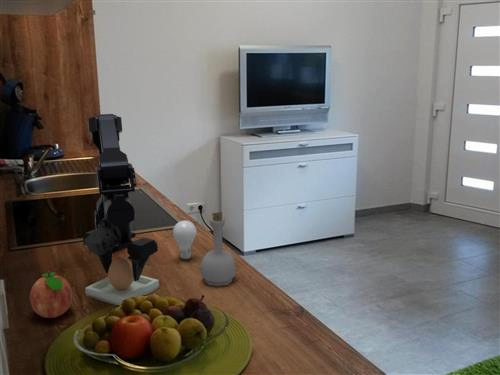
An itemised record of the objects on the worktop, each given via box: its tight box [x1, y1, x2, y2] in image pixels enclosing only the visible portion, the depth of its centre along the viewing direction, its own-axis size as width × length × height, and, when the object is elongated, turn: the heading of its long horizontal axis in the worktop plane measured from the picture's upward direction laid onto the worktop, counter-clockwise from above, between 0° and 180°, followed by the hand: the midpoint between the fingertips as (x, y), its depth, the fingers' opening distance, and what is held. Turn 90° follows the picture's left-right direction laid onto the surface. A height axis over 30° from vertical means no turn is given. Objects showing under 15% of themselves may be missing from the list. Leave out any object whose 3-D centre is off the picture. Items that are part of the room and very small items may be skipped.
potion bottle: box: [199, 211, 237, 287], centre depth 129 cm, size 9×9×18 cm
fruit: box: [29, 270, 74, 319], centre depth 113 cm, size 9×10×10 cm
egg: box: [107, 256, 134, 290], centre depth 124 cm, size 6×6×8 cm
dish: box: [84, 274, 160, 306], centre depth 125 cm, size 12×12×2 cm
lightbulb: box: [172, 220, 197, 261], centre depth 143 cm, size 6×6×11 cm
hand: (122, 276), depth 124 cm, fingers open, 9 cm apart
